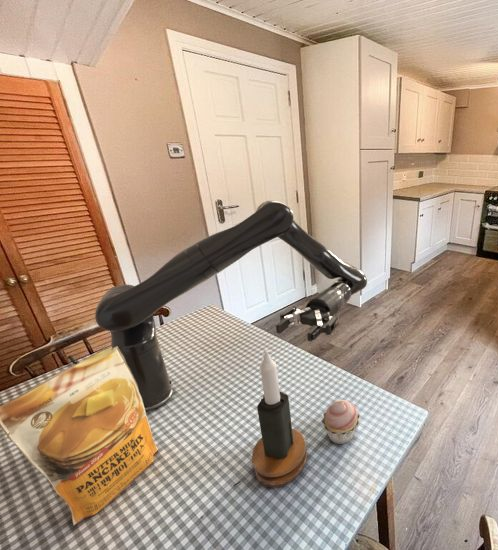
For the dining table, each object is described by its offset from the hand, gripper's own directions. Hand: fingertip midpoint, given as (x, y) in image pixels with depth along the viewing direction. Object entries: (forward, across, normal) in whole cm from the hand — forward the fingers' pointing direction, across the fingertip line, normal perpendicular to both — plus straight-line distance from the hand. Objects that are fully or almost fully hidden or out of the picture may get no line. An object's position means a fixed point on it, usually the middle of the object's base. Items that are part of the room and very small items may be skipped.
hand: (292, 334), depth 70 cm
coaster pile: (+13, +3, +25) cm, 28 cm away
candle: (+12, +3, +21) cm, 24 cm away
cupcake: (+1, +12, +25) cm, 28 cm away
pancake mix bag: (+29, -26, +25) cm, 46 cm away
